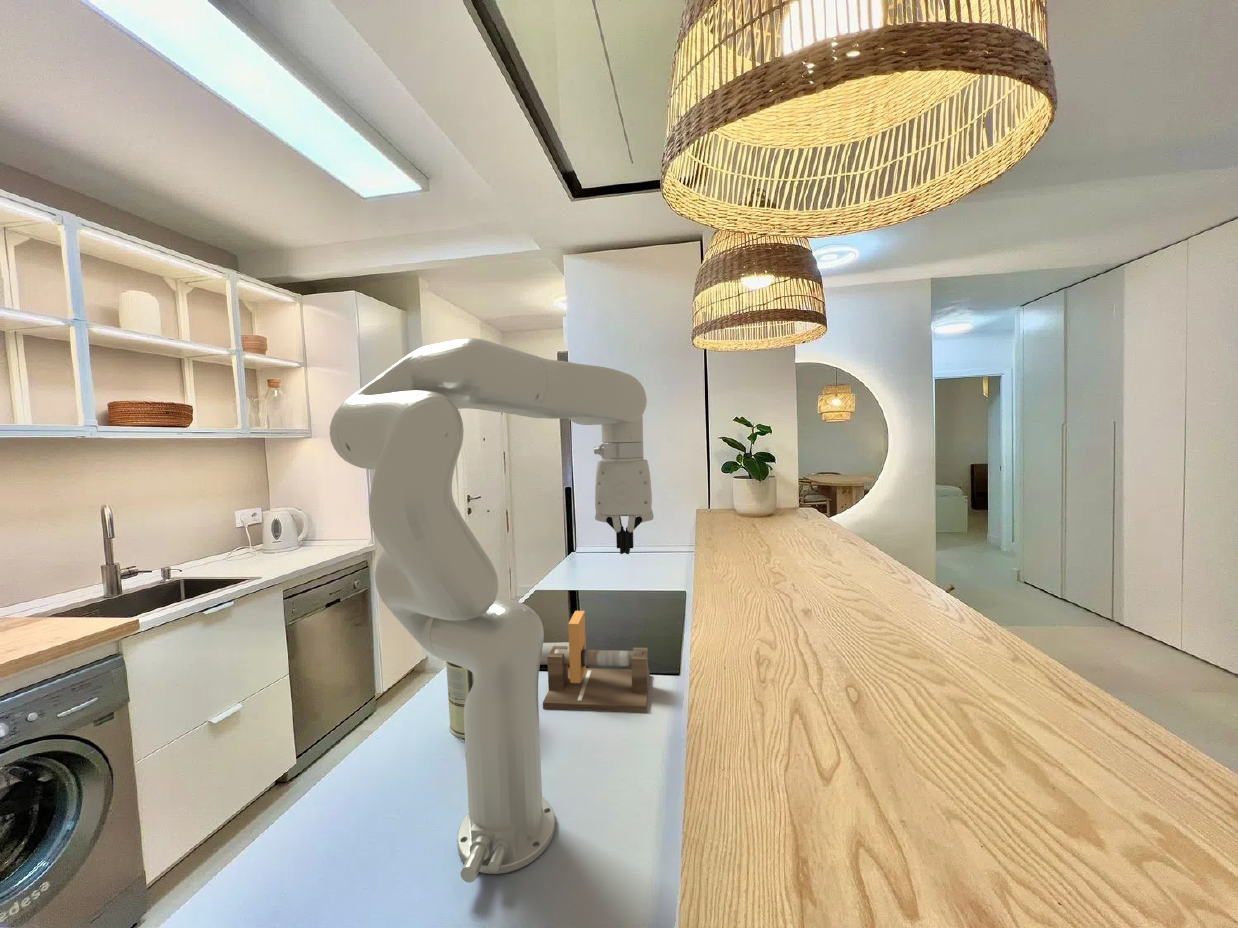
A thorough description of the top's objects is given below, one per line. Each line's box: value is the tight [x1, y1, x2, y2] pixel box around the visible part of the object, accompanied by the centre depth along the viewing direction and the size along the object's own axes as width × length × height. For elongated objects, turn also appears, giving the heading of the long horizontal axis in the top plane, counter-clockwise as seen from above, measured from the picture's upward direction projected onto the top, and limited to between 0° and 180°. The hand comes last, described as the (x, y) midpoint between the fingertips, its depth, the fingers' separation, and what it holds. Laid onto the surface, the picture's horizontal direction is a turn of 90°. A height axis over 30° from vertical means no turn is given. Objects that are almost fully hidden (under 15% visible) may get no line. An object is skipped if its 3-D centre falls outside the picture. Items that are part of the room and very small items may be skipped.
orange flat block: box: [567, 610, 587, 683], centre depth 99 cm, size 7×2×12 cm, turn 174°
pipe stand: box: [542, 646, 650, 713], centre depth 99 cm, size 14×20×9 cm
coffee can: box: [445, 661, 474, 739], centre depth 89 cm, size 10×10×14 cm
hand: (625, 552), depth 89 cm, fingers closed
